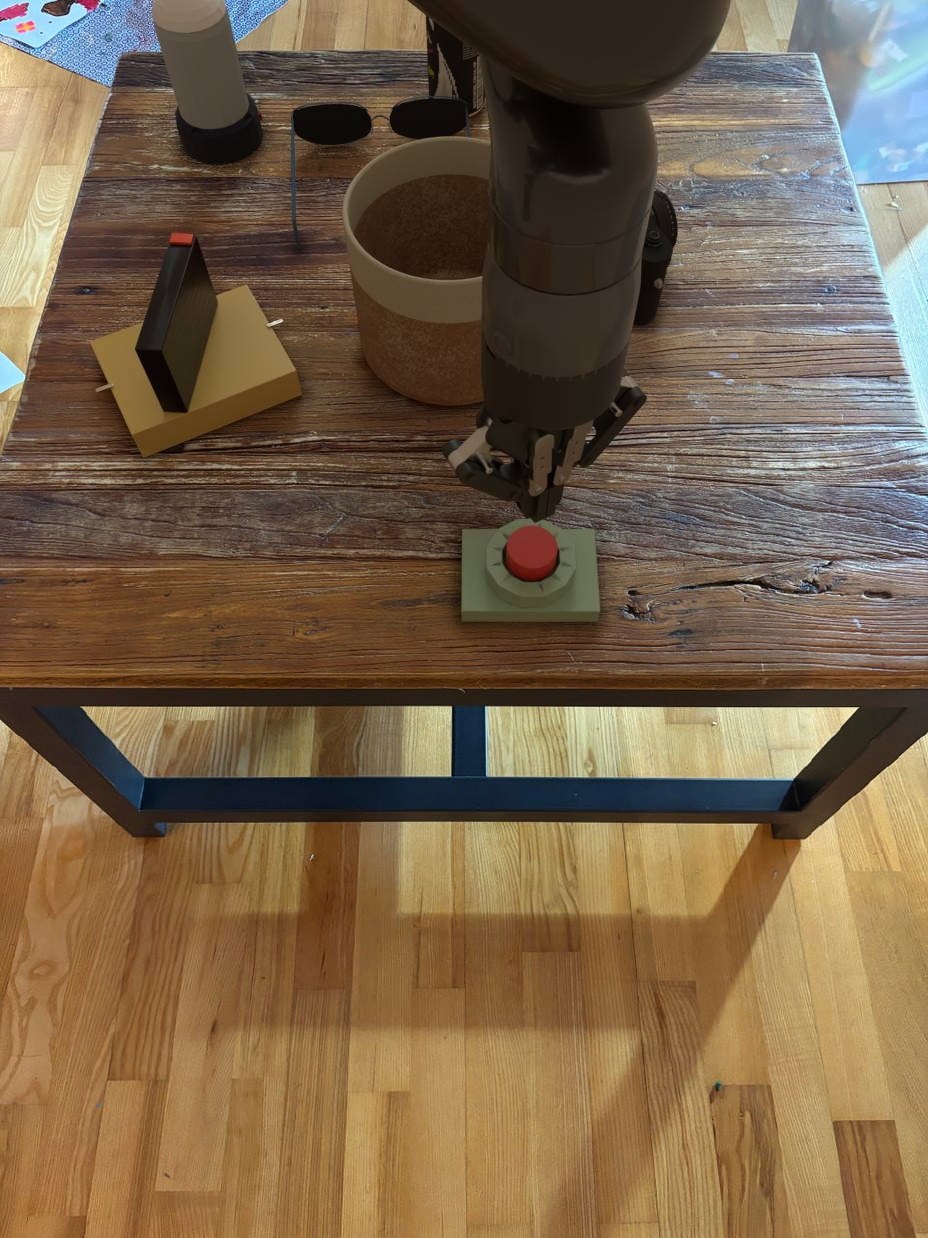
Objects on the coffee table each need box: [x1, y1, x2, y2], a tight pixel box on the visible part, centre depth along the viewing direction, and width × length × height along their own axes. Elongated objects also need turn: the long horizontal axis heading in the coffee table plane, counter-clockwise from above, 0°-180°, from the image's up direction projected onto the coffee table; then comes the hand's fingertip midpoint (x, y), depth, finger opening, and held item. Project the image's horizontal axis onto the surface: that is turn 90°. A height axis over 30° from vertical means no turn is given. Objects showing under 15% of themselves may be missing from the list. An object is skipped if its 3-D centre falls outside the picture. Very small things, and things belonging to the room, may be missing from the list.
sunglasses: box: [290, 95, 472, 250], centre depth 87 cm, size 17×15×5 cm
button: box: [506, 526, 558, 581], centre depth 66 cm, size 4×4×2 cm
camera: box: [633, 189, 679, 325], centre depth 80 cm, size 14×7×8 cm, turn 24°
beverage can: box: [425, 15, 486, 118], centre depth 89 cm, size 6×6×12 cm
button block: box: [460, 518, 601, 623], centre depth 68 cm, size 10×7×4 cm
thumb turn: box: [135, 232, 218, 413], centre depth 72 cm, size 12×2×7 cm, turn 175°
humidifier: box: [151, 0, 264, 165], centre depth 81 cm, size 8×8×25 cm
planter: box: [341, 136, 491, 406], centre depth 74 cm, size 16×16×14 cm
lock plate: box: [89, 284, 303, 459], centre depth 77 cm, size 16×11×3 cm
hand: (536, 508), depth 61 cm, fingers closed
